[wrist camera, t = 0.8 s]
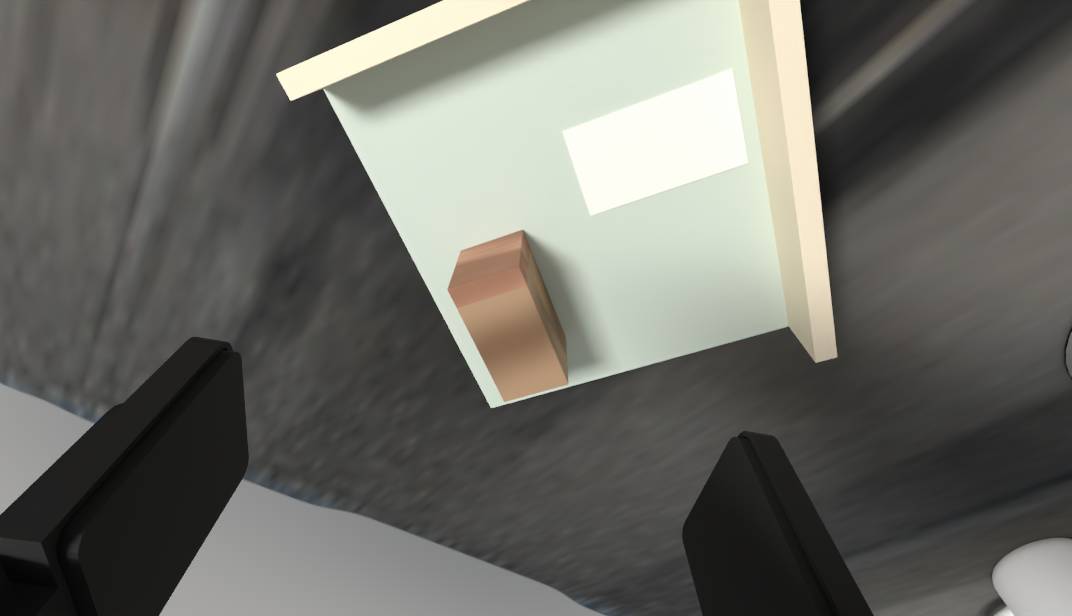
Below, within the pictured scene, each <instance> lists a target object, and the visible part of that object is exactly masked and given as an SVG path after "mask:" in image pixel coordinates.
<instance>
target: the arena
mask: <svg viewBox="0 0 1072 616" xmlns="http://www.w3.org/2000/svg"><path fill="white" fill-rule="evenodd" d="M276 75H277V77H278V79H279V81H280V83H281V84H282V86H283V88H284V90H285V91H286V93H287V95H288V97H289V99H290V100H291V101H292V100H295V99H297V98H300V97H302V96H305V95H307V94H310V93H313V92H315V91H318V90H320V89H324V91H325V93H326V95H327V97H328V99H329V101H330V103H331V105H332V107H333V108H334V110H335V112H336V114H337V116H338V118H339V120H340V122H341V124H342V126H343V127H344V129H345V131H346V133H347V135H348V137H349V139H350V141H351V143H352V145H353V146H354V148H355V150H356V152H357V154H358V156H359V158H360V160H361V162H362V164H363V165H364V167H365V169H366V171H367V173H368V175H369V177H370V179H371V181H372V183H373V185H374V186H375V188H376V190H377V192H378V194H379V196H380V198H381V200H382V202H383V204H384V205H385V207H386V209H387V211H388V213H389V215H390V217H391V219H392V221H393V223H394V224H395V226H396V228H397V230H398V232H399V234H400V236H401V238H402V240H403V242H404V243H405V245H406V247H407V249H408V251H409V253H410V255H411V257H412V259H413V261H414V262H415V264H416V266H417V268H418V270H419V272H420V274H421V276H422V278H423V280H424V282H425V283H426V285H427V287H428V289H429V291H430V293H431V295H432V297H433V299H434V301H435V302H436V304H437V306H438V308H439V310H440V312H441V314H442V316H443V318H444V320H445V321H446V323H447V325H448V327H449V329H450V331H451V333H452V335H453V337H454V339H455V340H456V342H457V344H458V346H459V348H460V350H461V352H462V354H463V356H464V358H465V360H466V361H467V363H468V365H469V367H470V369H471V371H472V373H473V375H474V377H475V379H476V380H477V382H478V384H479V386H480V388H481V390H482V392H483V394H484V396H485V398H486V399H487V401H488V403H489V405H490V407H491V408H494V407H497V406H501V405H505V404H508V403H512V402H516V401H519V400H523V399H527V398H530V397H534V396H537V395H541V394H545V393H548V392H552V391H556V390H559V389H563V388H567V387H570V386H574V385H577V384H581V383H585V382H588V381H592V380H596V379H599V378H603V377H606V376H610V375H614V374H617V373H621V372H625V371H628V370H632V369H636V368H639V367H643V366H646V365H650V364H654V363H657V362H661V361H665V360H668V359H672V358H676V357H679V356H683V355H686V354H690V353H694V352H697V351H701V350H705V349H708V348H712V347H715V346H719V345H723V344H726V343H730V342H734V341H737V340H741V339H745V338H748V337H752V336H755V335H759V334H763V333H766V332H770V331H774V330H777V329H781V328H785V327H788V326H789V327H790V329H791V330H792V332H793V333H794V334H795V336H796V337H797V338H798V340H799V341H800V342H801V344H802V345H803V346H804V348H805V349H806V350H807V352H808V353H809V354H810V356H811V357H812V359H813V360H814V361H815V363H817V362H821V361H825V360H829V359H833V358H836V357H837V349H836V340H835V330H834V321H833V311H832V302H831V292H830V283H829V273H828V264H827V254H826V245H825V235H824V226H823V216H822V207H821V197H820V187H819V178H818V168H817V159H816V149H815V140H814V130H813V121H812V111H811V102H810V92H809V83H808V73H807V64H806V54H805V45H804V35H803V26H802V16H801V7H800V0H443V1H441V2H439V3H437V4H434V5H432V6H430V7H427V8H425V9H423V10H421V11H418V12H416V13H414V14H411V15H409V16H407V17H405V18H402V19H400V20H398V21H396V22H393V23H391V24H389V25H386V26H384V27H382V28H380V29H377V30H375V31H373V32H370V33H368V34H366V35H364V36H361V37H359V38H357V39H354V40H352V41H350V42H348V43H345V44H343V45H341V46H339V47H336V48H334V49H332V50H329V51H327V52H325V53H323V54H320V55H318V56H316V57H313V58H311V59H309V60H307V61H304V62H302V63H300V64H297V65H295V66H293V67H291V68H288V69H286V70H284V71H282V72H279V73H277V74H276ZM520 230H523V231H524V234H525V236H526V239H527V241H528V244H529V246H530V249H531V251H532V254H533V256H534V259H535V261H536V264H537V266H538V269H539V271H540V274H541V276H542V279H543V281H544V284H545V286H546V289H547V291H548V294H549V296H550V299H551V301H552V304H553V306H554V309H555V311H556V314H557V316H558V319H559V321H560V324H561V326H562V329H563V331H564V333H565V336H566V348H567V366H568V385H565V386H561V387H557V388H554V389H550V390H546V391H543V392H539V393H536V394H532V395H528V396H525V397H521V398H517V399H514V400H510V401H507V402H504V401H503V399H502V397H501V395H500V393H499V391H498V389H497V387H496V385H495V383H494V381H493V379H492V377H491V375H490V373H489V371H488V369H487V367H486V365H485V363H484V361H483V359H482V357H481V355H480V353H479V351H478V349H477V347H476V345H475V343H474V341H473V339H472V337H471V335H470V333H469V331H468V329H467V327H466V326H465V324H464V322H463V320H462V318H461V316H460V314H459V312H458V310H457V308H456V306H455V304H454V302H453V300H452V298H451V296H450V294H449V292H448V290H447V289H448V286H449V283H450V280H451V277H452V275H453V272H454V269H455V266H456V263H457V260H458V257H459V254H460V251H461V250H464V249H467V248H470V247H473V246H476V245H479V244H482V243H485V242H488V241H491V240H494V239H497V238H499V237H502V236H505V235H508V234H511V233H514V232H517V231H520Z"/></svg>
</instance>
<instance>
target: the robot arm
mask: <svg viewBox="0 0 1072 616" xmlns="http://www.w3.org/2000/svg"><path fill="white" fill-rule="evenodd" d="M1066 365H1067V368H1068V371H1069V374H1070V376H1071V377H1072V332H1071V334H1070V337H1069V341H1068V344H1067V348H1066ZM248 459H249V455H248V442H247V428H246V414H245V401H244V387H243V373H242V359H241V355H240V353H238V352H233V350H232V346H231V345H230V343H228V342H223V341H218V340H212V339H206V338H200V337H192V338H190V339H189V340H187V341H186V342H185V343H184V344H183V345H182V346H181V347H180V348H179V349H178V350H177V351H176V352H175V353H174V354H173V355H172V356H171V357H170V358H169V359H168V360H167V361H166V362H165V363H164V364H163V365H162V366H161V367H160V368H159V369H158V370H157V371H156V372H155V373H154V374H153V375H152V376H151V377H150V378H149V379H148V380H146V381H145V382H144V383H143V384H142V385H141V386H140V387H139V388H138V389H137V390H136V391H135V392H134V393H133V394H132V395H131V396H130V397H129V398H128V399H127V400H126V401H125V402H124V403H122V404H119V405H116V406H114V407H113V408H112V409H110V410H109V411H108V412H107V413H106V414H104V415H103V416H102V417H101V418H100V419H99V420H98V421H97V422H96V423H95V424H94V425H93V426H92V427H91V428H90V429H89V430H88V431H87V432H86V433H85V434H84V435H83V436H82V437H81V438H80V439H79V440H78V441H77V442H76V443H74V444H73V445H72V446H71V447H70V448H69V449H68V451H66V452H65V453H64V454H63V455H62V456H61V457H60V458H59V459H58V460H57V461H56V462H55V463H54V464H53V465H52V466H51V467H50V468H49V469H48V470H47V471H46V472H44V473H43V475H42V476H40V477H39V478H38V479H37V480H36V481H35V482H34V483H33V484H32V485H31V486H30V487H29V488H28V489H27V490H26V491H25V492H24V493H23V494H22V495H21V496H20V497H19V498H18V499H17V500H16V501H14V502H13V503H12V504H11V505H10V506H9V507H8V508H7V509H6V510H5V511H4V512H3V513H2V514H1V515H0V616H159V614H160V613H161V611H162V610H163V608H164V606H165V604H166V603H167V601H168V600H169V598H170V596H171V595H172V593H173V592H174V590H175V588H176V586H177V585H178V583H179V582H180V580H181V578H182V577H183V575H184V573H185V572H186V570H187V568H188V567H189V565H190V564H191V562H192V560H193V559H194V557H195V555H196V554H197V552H198V550H199V549H200V547H201V546H202V544H203V542H204V540H205V539H206V537H207V536H208V534H209V533H210V531H211V529H212V528H213V526H214V524H215V523H216V521H217V519H218V518H219V516H220V514H221V513H222V511H223V510H224V508H225V506H226V505H227V503H228V501H229V500H230V498H231V497H232V495H233V493H234V492H235V490H236V488H237V487H238V485H239V483H240V482H241V480H242V478H243V476H244V474H245V472H246V469H247V466H248ZM682 537H683V544H684V547H685V551H686V555H687V558H688V562H689V566H690V570H691V573H692V577H693V581H694V584H695V588H696V592H697V595H698V599H699V603H700V607H701V610H702V614H703V616H874V615H873V614H872V612H871V610H870V608H869V606H868V604H867V603H866V601H865V599H864V597H863V595H862V593H861V592H860V590H859V588H858V586H857V584H856V582H855V581H854V579H853V577H852V575H851V573H850V571H849V570H848V568H847V566H846V564H845V562H844V560H843V559H842V557H841V555H840V553H839V551H838V549H837V548H836V546H835V544H834V542H833V540H832V538H831V537H830V535H829V533H828V531H827V529H826V527H825V526H824V524H823V522H822V520H821V518H820V516H819V515H818V513H817V511H816V509H815V507H814V505H813V504H812V502H811V500H810V498H809V496H808V494H807V493H806V491H805V489H804V487H803V485H802V483H801V482H800V480H799V478H798V476H797V474H796V473H795V471H794V469H793V467H792V465H791V463H790V462H789V460H788V458H787V456H786V454H785V452H784V451H783V449H782V447H781V445H780V443H779V441H778V440H777V439H776V438H775V437H774V436H771V435H766V434H760V433H754V432H748V431H743V432H742V433H740V434H739V436H738V437H733V438H731V439H730V441H729V442H728V444H727V446H726V448H725V449H724V451H723V453H722V455H721V457H720V459H719V460H718V462H717V464H716V466H715V468H714V470H713V471H712V473H711V475H710V477H709V479H708V481H707V482H706V484H705V486H704V488H703V490H702V492H701V493H700V495H699V497H698V499H697V501H696V503H695V504H694V506H693V508H692V510H691V512H690V514H689V515H688V517H687V519H686V521H685V523H684V526H683V533H682Z"/></svg>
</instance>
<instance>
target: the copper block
mask: <svg viewBox="0 0 1072 616" xmlns="http://www.w3.org/2000/svg"><path fill="white" fill-rule="evenodd" d="M447 290H448V292H449V294H450V296H451V298H452V300H453V302H454V304H455V306H456V308H457V310H458V312H459V314H460V316H461V318H462V320H463V322H464V324H465V326H466V327H467V329H468V331H469V333H470V335H471V337H472V339H473V341H474V343H475V345H476V347H477V349H478V351H479V353H480V355H481V357H482V359H483V361H484V363H485V365H486V367H487V369H488V371H489V373H490V375H491V377H492V379H493V381H494V383H495V385H496V387H497V389H498V391H499V393H500V395H501V397H502V399H503V401H504V402H507V401H510V400H514V399H517V398H521V397H525V396H528V395H532V394H536V393H539V392H543V391H546V390H550V389H554V388H557V387H561V386H565V385H568V366H567V348H566V336H565V333H564V331H563V329H562V326H561V324H560V321H559V319H558V316H557V314H556V311H555V309H554V306H553V304H552V301H551V299H550V296H549V294H548V291H547V289H546V286H545V284H544V281H543V279H542V276H541V274H540V271H539V269H538V266H537V264H536V261H535V259H534V256H533V254H532V251H531V249H530V246H529V244H528V241H527V239H526V236H525V234H524V231H523V230H520V231H517V232H514V233H511V234H508V235H505V236H502V237H499V238H497V239H494V240H491V241H488V242H485V243H482V244H479V245H476V246H473V247H470V248H467V249H464V250H461V251H460V254H459V257H458V260H457V263H456V266H455V269H454V272H453V275H452V277H451V280H450V283H449V286H448V289H447Z"/></svg>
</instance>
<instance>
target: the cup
mask: <svg viewBox="0 0 1072 616" xmlns="http://www.w3.org/2000/svg"><path fill="white" fill-rule="evenodd" d="M992 582H993V585H994V587H995V589H996V591H997V593H998V594H999V596H1000V597H1001V598H1002V600H1003V601H1004V602H1005V604H1006V605H1007V606H1006V607H1004V608H1003V609H1001V610H1000V611H998V612H997V613H996V614H994V615H993V616H1072V539H1070V538H1049V539H1043V540H1038V541H1035V542H1031V543H1028V544H1026V545H1023V546H1021V547H1019V548H1017V549H1015V550H1013V551H1011V552H1010V553H1008V554H1007V555H1005V556H1004V557H1003V558H1002V559H1001V560H1000V561H999V562H998V563H997V564H996V566H995V567H994V569H993V572H992Z"/></svg>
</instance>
